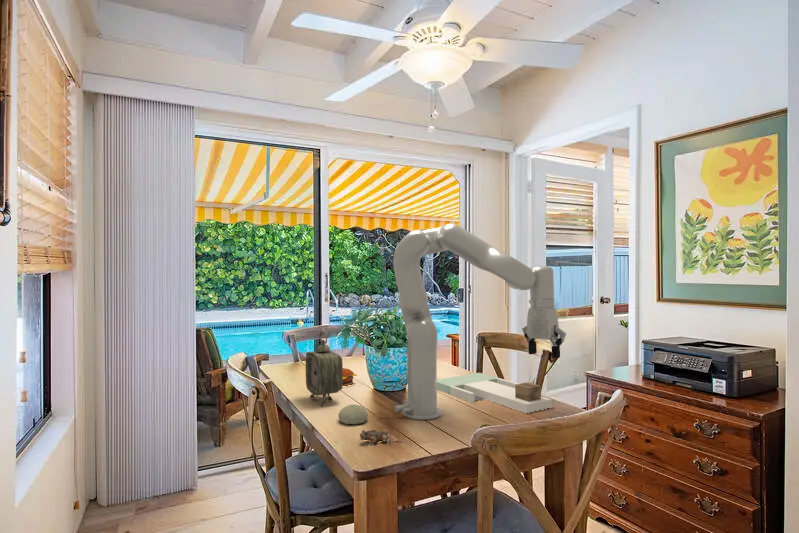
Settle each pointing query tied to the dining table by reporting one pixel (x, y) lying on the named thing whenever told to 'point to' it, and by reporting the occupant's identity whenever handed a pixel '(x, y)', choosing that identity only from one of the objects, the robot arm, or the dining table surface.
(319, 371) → the tabletop clock
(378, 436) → the frog figurine
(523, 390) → the walnut block
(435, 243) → the robot arm
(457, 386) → the board
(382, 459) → the dining table surface
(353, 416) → the sea urchin shell
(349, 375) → the hamburger
